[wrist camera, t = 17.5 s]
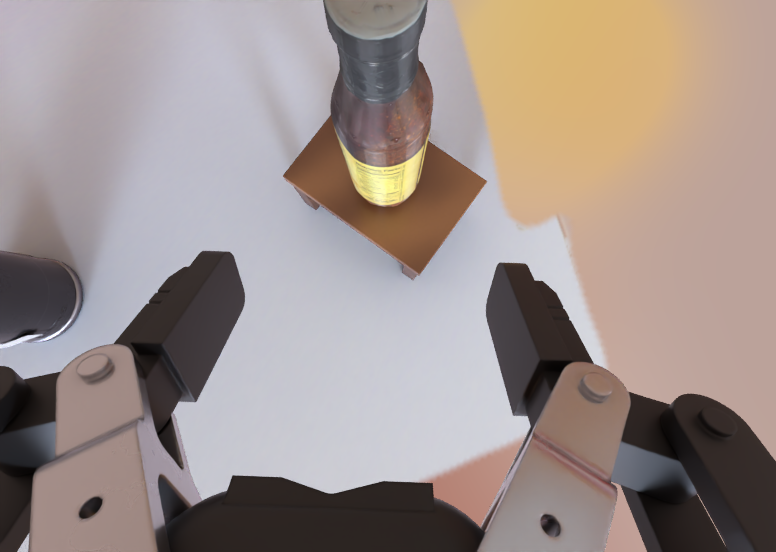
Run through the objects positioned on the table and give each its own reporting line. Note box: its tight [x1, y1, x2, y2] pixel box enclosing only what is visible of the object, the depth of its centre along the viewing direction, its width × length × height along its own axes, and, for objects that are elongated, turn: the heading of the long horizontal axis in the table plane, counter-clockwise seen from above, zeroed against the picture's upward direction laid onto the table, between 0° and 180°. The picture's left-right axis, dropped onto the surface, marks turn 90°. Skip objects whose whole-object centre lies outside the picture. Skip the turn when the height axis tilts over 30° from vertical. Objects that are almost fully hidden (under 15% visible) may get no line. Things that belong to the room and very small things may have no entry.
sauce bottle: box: [323, 0, 433, 207], centre depth 23 cm, size 7×6×20 cm
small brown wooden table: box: [283, 116, 487, 280], centre depth 37 cm, size 16×11×8 cm
